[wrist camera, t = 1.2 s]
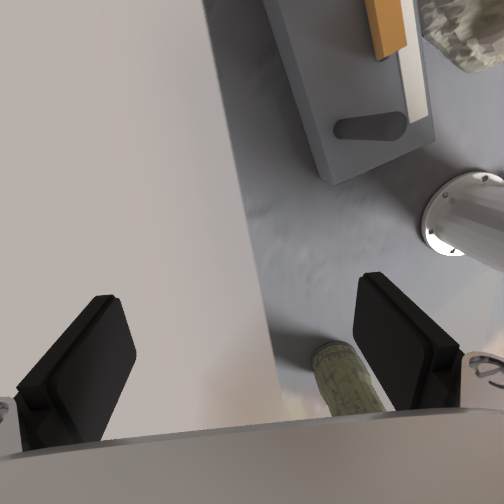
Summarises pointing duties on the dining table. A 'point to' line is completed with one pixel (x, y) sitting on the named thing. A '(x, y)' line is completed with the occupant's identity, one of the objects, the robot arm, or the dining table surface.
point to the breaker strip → (350, 81)
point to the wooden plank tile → (386, 27)
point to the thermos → (344, 381)
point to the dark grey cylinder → (372, 127)
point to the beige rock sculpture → (465, 31)
